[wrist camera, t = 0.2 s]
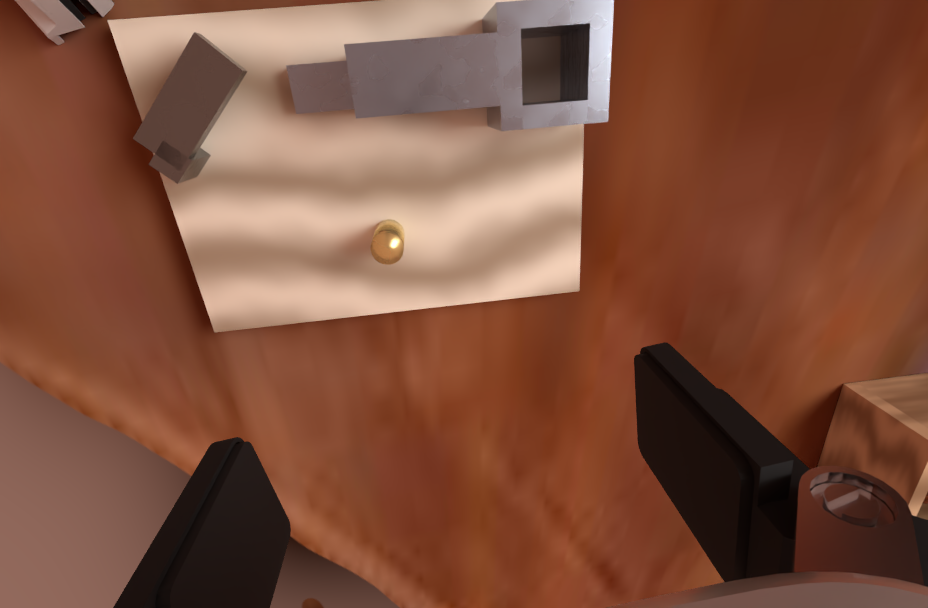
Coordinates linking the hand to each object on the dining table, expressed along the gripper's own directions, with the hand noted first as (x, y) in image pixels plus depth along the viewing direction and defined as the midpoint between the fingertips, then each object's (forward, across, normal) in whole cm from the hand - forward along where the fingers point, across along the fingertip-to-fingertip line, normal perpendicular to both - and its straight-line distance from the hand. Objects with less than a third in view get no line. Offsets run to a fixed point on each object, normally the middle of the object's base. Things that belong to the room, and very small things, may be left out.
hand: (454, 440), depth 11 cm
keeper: (+30, +13, -10) cm, 34 cm away
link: (+28, -3, -9) cm, 30 cm away
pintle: (+30, +3, +2) cm, 30 cm away
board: (+30, +3, -3) cm, 30 cm away
